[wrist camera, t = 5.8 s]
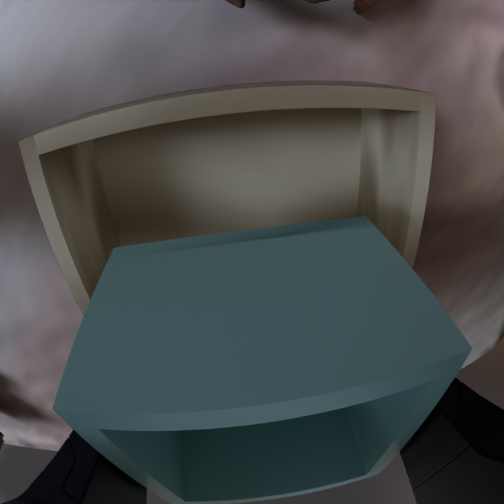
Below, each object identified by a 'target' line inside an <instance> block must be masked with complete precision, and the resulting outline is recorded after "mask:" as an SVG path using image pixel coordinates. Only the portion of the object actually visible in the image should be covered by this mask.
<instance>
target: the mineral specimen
mask: <svg viewBox="0 0 504 504" xmlns="http://www.w3.org/2000/svg"><path fill="white" fill-rule="evenodd" d="M3 437H4V435H3V434H2V433H1V432H0V450H1V447H2V445H3V442H4V440H3Z"/></svg>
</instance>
